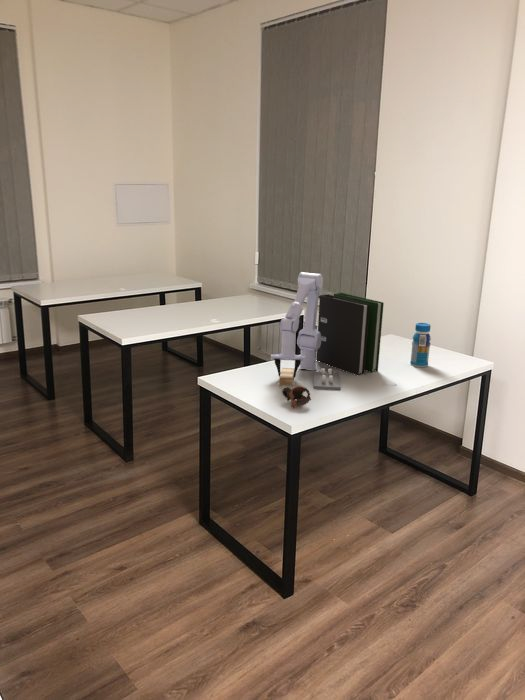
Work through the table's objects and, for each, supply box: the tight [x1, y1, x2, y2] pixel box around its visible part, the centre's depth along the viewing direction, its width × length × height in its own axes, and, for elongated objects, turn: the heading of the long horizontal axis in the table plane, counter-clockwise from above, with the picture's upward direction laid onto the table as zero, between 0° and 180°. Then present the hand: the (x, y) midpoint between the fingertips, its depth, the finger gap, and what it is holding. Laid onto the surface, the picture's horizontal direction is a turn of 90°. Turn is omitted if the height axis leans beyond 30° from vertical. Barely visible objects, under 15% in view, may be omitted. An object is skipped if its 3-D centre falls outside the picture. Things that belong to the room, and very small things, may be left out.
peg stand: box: [312, 367, 342, 391], centre depth 250 cm, size 20×11×4 cm, turn 176°
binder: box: [316, 292, 385, 376], centre depth 270 cm, size 27×15×32 cm, turn 37°
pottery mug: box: [281, 385, 312, 409], centre depth 223 cm, size 12×10×8 cm
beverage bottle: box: [410, 322, 432, 368], centre depth 276 cm, size 8×8×20 cm
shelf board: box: [278, 367, 295, 386], centre depth 252 cm, size 14×6×4 cm, turn 174°
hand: (287, 376), depth 252 cm, fingers open, 6 cm apart
